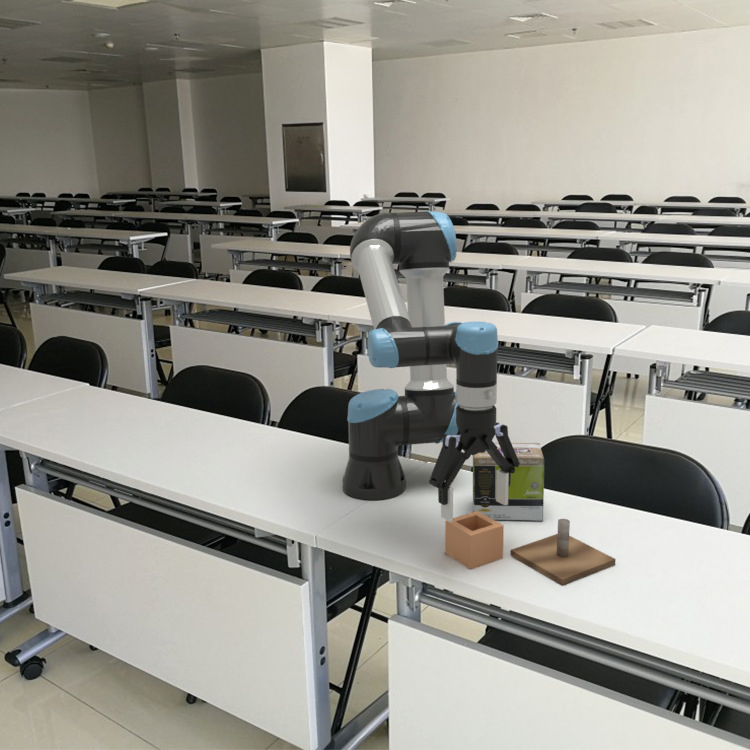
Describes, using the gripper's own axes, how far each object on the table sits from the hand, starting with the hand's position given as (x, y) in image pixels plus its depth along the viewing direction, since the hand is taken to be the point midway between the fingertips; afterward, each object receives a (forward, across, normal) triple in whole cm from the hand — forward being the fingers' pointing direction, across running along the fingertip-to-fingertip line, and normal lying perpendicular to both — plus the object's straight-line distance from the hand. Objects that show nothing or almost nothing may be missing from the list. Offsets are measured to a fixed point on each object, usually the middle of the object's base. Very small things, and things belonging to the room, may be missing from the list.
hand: (475, 511), depth 154 cm
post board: (+10, +13, -10) cm, 20 cm away
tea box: (+10, +19, +12) cm, 25 cm away
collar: (+10, 0, 0) cm, 10 cm away
